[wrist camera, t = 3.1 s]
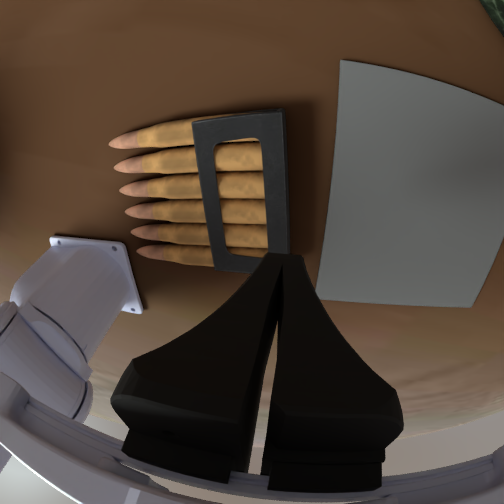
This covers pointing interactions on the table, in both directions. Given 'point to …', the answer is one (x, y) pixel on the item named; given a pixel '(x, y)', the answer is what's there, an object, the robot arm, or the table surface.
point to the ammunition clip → (213, 189)
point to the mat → (412, 191)
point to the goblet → (495, 12)
